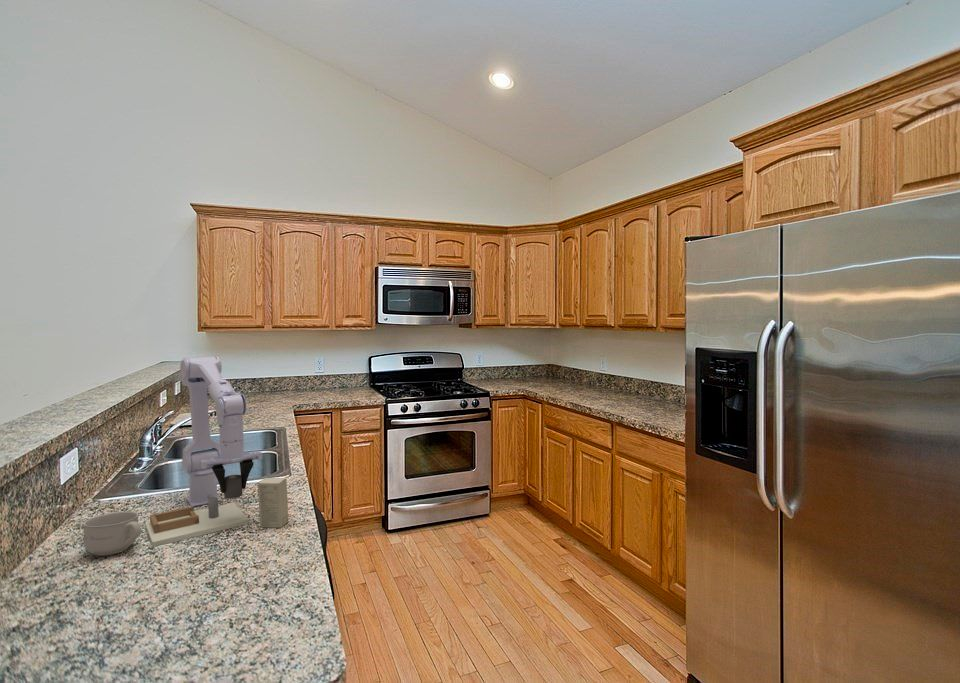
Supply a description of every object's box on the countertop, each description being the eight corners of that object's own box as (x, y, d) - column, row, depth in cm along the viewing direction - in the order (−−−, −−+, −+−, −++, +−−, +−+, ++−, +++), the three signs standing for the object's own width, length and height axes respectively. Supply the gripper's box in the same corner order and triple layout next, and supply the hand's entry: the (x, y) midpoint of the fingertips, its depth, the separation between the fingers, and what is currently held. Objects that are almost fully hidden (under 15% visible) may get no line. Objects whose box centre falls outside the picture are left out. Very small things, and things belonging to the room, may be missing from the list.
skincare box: (288, 521, 138) (287, 477, 137) (280, 528, 133) (279, 483, 133) (266, 520, 138) (265, 477, 138) (258, 527, 134) (257, 482, 133)
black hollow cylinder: (222, 495, 136) (222, 476, 136) (240, 491, 139) (240, 473, 139) (225, 499, 133) (225, 480, 132) (243, 496, 135) (243, 477, 135)
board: (145, 526, 135) (144, 503, 135) (234, 506, 149) (233, 485, 149) (152, 547, 123) (151, 522, 122) (248, 523, 137) (248, 501, 136)
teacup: (74, 554, 119) (73, 521, 119) (124, 536, 129) (123, 506, 128) (106, 567, 113) (105, 532, 112) (156, 548, 122) (155, 515, 122)
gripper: (204, 447, 127) (206, 500, 128) (264, 438, 136) (265, 487, 137) (198, 442, 133) (200, 492, 133) (257, 433, 142) (258, 481, 143)
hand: (233, 490), depth 136 cm, fingers closed on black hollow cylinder, 4 cm apart
